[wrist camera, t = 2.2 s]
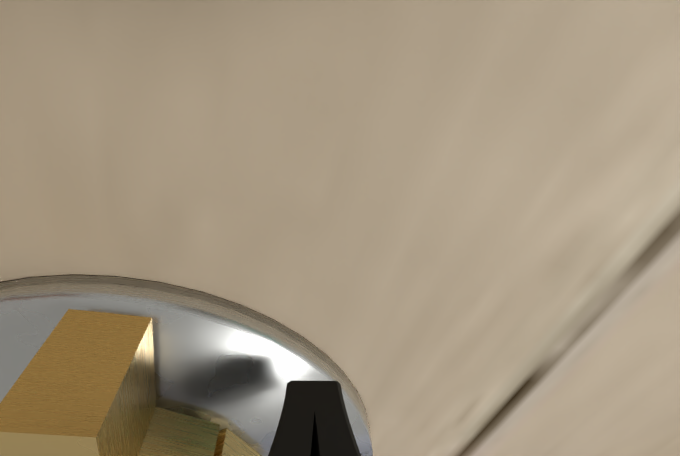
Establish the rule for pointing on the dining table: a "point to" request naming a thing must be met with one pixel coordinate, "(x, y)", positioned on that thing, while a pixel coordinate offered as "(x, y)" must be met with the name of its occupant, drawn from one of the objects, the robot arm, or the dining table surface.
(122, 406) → the ring nut
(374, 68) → the dining table surface
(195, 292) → the flange
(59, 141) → the dining table surface
